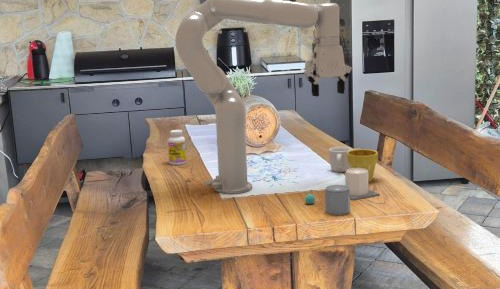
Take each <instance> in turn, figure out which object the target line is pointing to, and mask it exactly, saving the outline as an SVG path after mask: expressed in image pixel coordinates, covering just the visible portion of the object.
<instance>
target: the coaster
mask: <svg viewBox="0 0 500 289" xmlns="http://www.w3.org/2000/svg"><path fill="white" fill-rule="evenodd" d="M378 196H380V193H378V192H375V191H373V190H371V189H368V193H367V194H366V195H361V196H355V195H350V201H357V200H361V199H362V200H363V199H367V198H374V197H378Z"/></svg>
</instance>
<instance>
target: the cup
mask: <svg viewBox="0 0 500 289" xmlns="http://www.w3.org/2000/svg"><path fill="white" fill-rule="evenodd" d="M351 150H352V148H351V147H349V146H334V147H330V148H329V149H328V152H329V153H328V154H329V163H330V168H331V170H332V171H333V172H335V173H336V172H337V173H346V170H347V169H350V165H349V163H348V162H347V152H348V151H351Z"/></svg>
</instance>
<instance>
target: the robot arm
mask: <svg viewBox="0 0 500 289" xmlns="http://www.w3.org/2000/svg"><path fill="white" fill-rule="evenodd" d="M224 20H228V21H229V20H230V21H239V22H247V23H254V24H262V25H276V26H277V25H278V26H285V27H293V28H301V29H308V28H312V27H313V26H315V38H314V39H312V43H313V44H315V46H314V48H313V54H312V65H311V66H310V67H308V68H307V69H305V70H304V71H303V73H304V76H305V77H306V80H307V81H308V82H309V84H311V85H310V86H311V95H312V96H313V97H316V98H317V97H319V96H320V84H319V81H320V80H321V79H328V78H330V79H331V78H336V79H338V80H337V81H336V82H337V83H336V88H337V90H336V92H337V93H338V94H341V95H342V94H345V89H346V86H345V85H346V84H345V82H346V81H347V79H348V77H349V76H350V73H351V71H352V67H351V66H349V65H348V64H347V63H345V56H344V55H345V54H344V51H343V50H344V49H343V46H342V45H340V6H339V4H337V3H336V2H323V3H318V4H316V3H315V4H314V3H305V2H298V1H297V2H295V1H288V0H205V1H204V2H203V3H200V4H199V5H198V6H197V7H196V8H194V9H193V10H191V11H190V12H188V13H187V14H185V15H184V17H183V18H182V20H181V22H180V23H179V25H178V28H177V30H176V34H175V39H174V40H175V48H176V49H175V50H176V52H177V55H178V57H179V59H180V61H182V63H183V65H184V66H185V68H186V70H187V71H188V72H189V73H188V74H190V76H191V78H192V79H193V80H194V82H195V83H196V85H197V87H198V89H199V91H200V92H201V93H202V94H204V95H205V97H206V98H207V100H208V101H209V103H210V104H211V106H212V107H213V109H214V110H215V124H216V125H215V126H216V127H215V128H216V146H217V169H218V172H217V173H218V175H216V176H215V178H214V179H212V180H211V179H210V180H205V181H204V185H205V187H212V188H214V190H215V191H216V192H217V193H220V194H230V195H231V194H243V193H246V192H249V191H251V190H252V189H253V184H252V183H251V182H249V181H248V163H247V162H248V160H247V138H246V137H247V135H246V132H247V131H246V129H247V128H246V125H247V124H246V119H247V118H246V115H247V114H246V107H245V103H244V101H243V98H242V97H241V96H240V94H239V93H238V91H237V89H236V88H235V86H234V85H233V84H232V82H231V81H230V79H229V77H228V76H227V75H226V73H225V72H224V70H223V69H222V68H221V67H219V66H218V65H217V64H216V63H215V62H214V60H213V59H212V57H211V56H210V53H209V52H208V50H207V49H206V48H205V46H204V42H203V38H204V37H205V36H206V33H207V32H209V31H211V30H212V29H213V28H214V27H216V26H217V25H218V24H220V23H222V22H223V21H224ZM311 73H312V74H311Z"/></svg>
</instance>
